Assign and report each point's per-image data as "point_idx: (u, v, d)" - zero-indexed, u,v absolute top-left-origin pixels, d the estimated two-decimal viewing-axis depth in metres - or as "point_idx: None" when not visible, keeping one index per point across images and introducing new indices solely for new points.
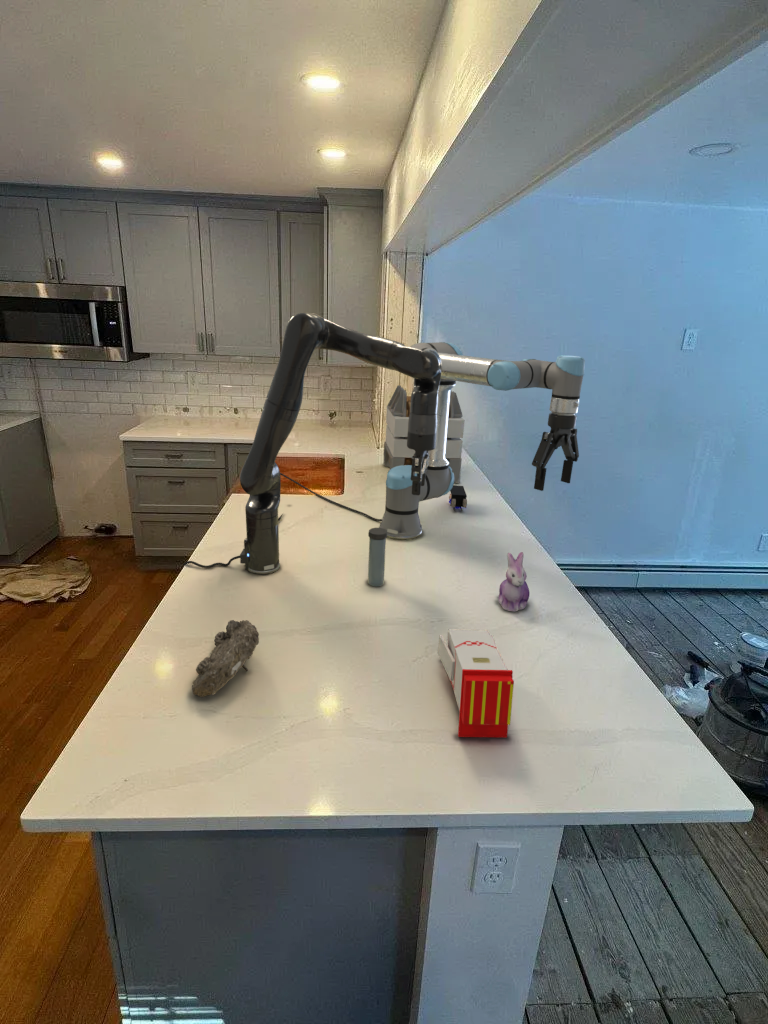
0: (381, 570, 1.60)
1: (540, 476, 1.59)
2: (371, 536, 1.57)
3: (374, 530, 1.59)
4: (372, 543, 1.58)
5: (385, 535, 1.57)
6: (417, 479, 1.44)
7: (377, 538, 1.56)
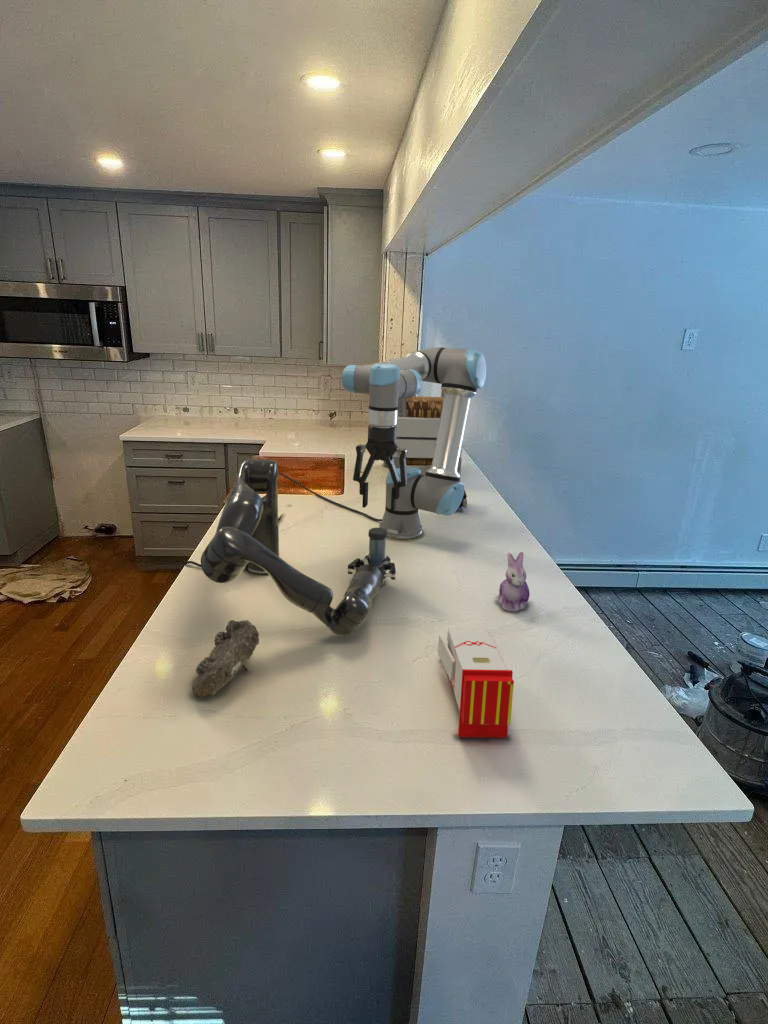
0: None
1: None
2: (371, 536, 1.57)
3: (374, 530, 1.59)
4: (372, 543, 1.58)
5: (385, 535, 1.57)
6: None
7: (377, 538, 1.56)
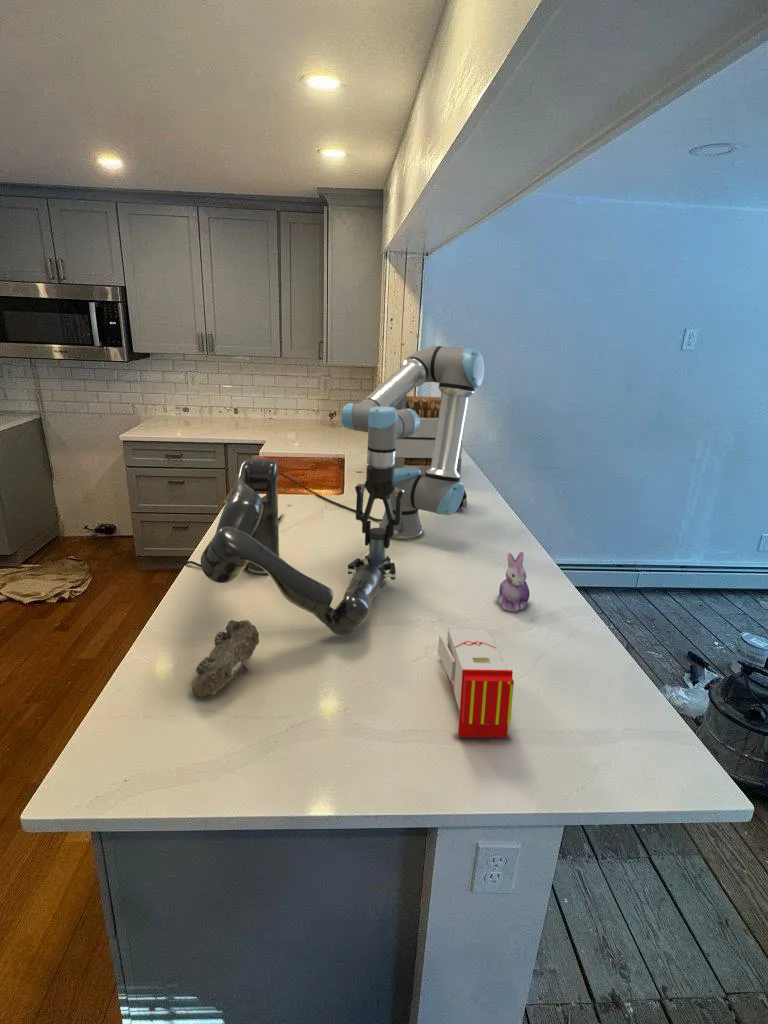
0: None
1: None
2: (371, 536, 1.57)
3: (374, 530, 1.59)
4: (372, 543, 1.58)
5: (385, 535, 1.57)
6: None
7: (377, 538, 1.56)
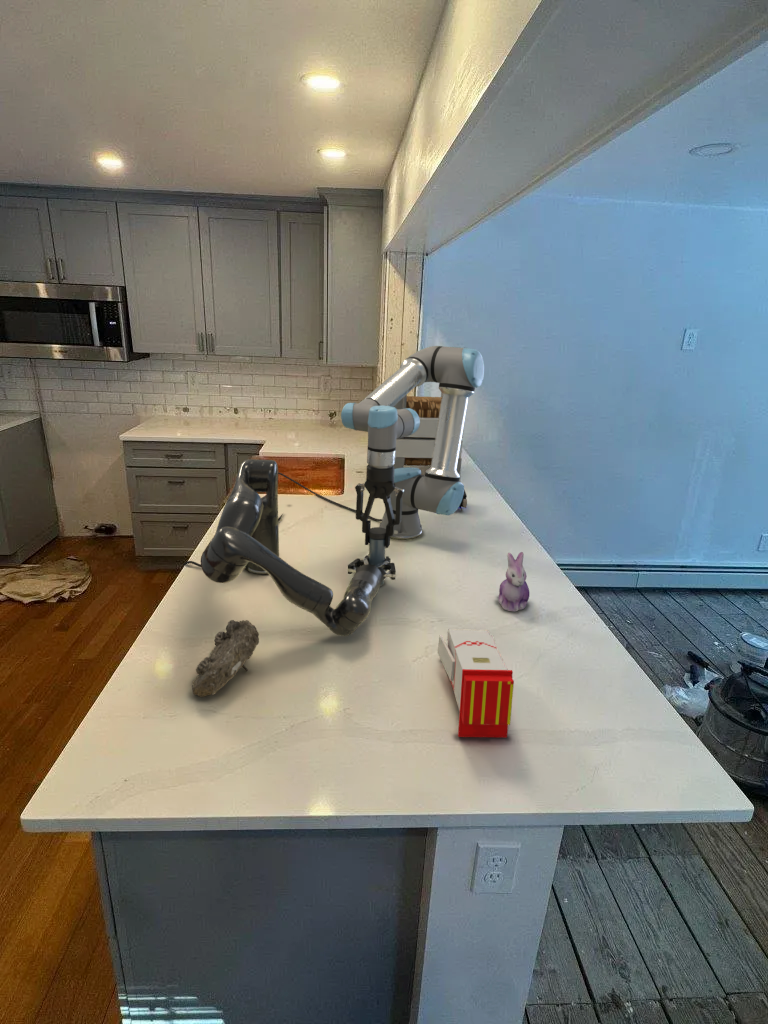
0: None
1: None
2: None
3: (378, 532, 1.57)
4: (372, 543, 1.58)
5: None
6: None
7: None
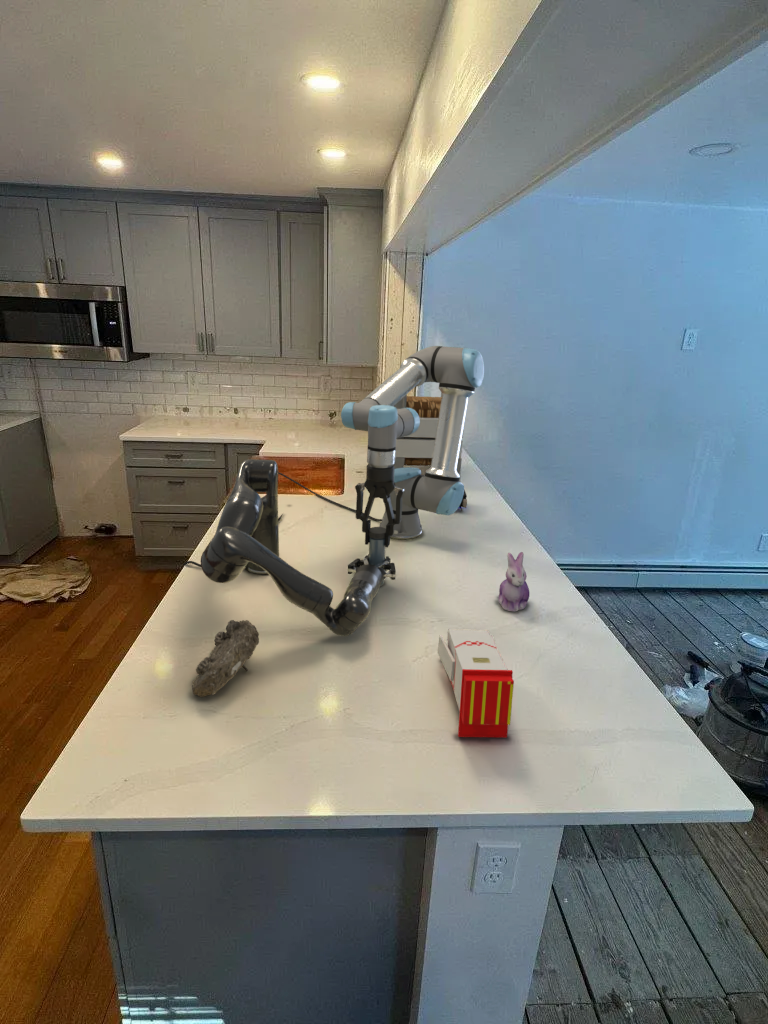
0: None
1: None
2: None
3: (381, 529, 1.59)
4: (372, 543, 1.58)
5: None
6: None
7: None
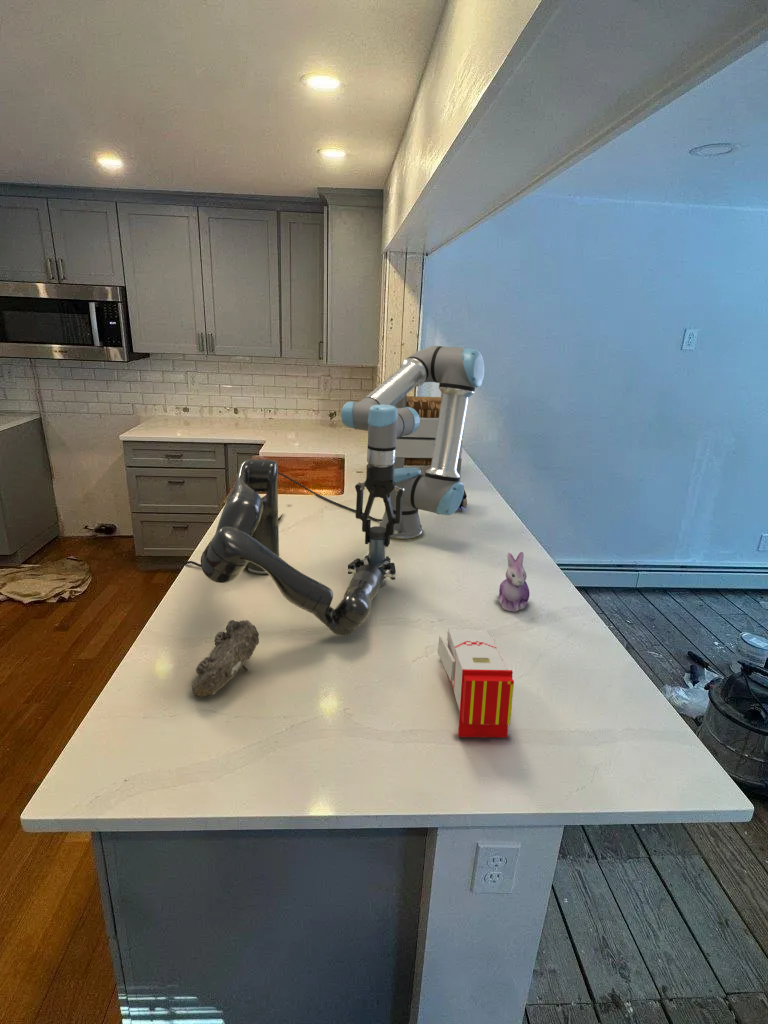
0: None
1: None
2: (369, 533, 1.58)
3: (375, 528, 1.59)
4: (372, 543, 1.58)
5: (382, 535, 1.56)
6: None
7: (373, 536, 1.56)
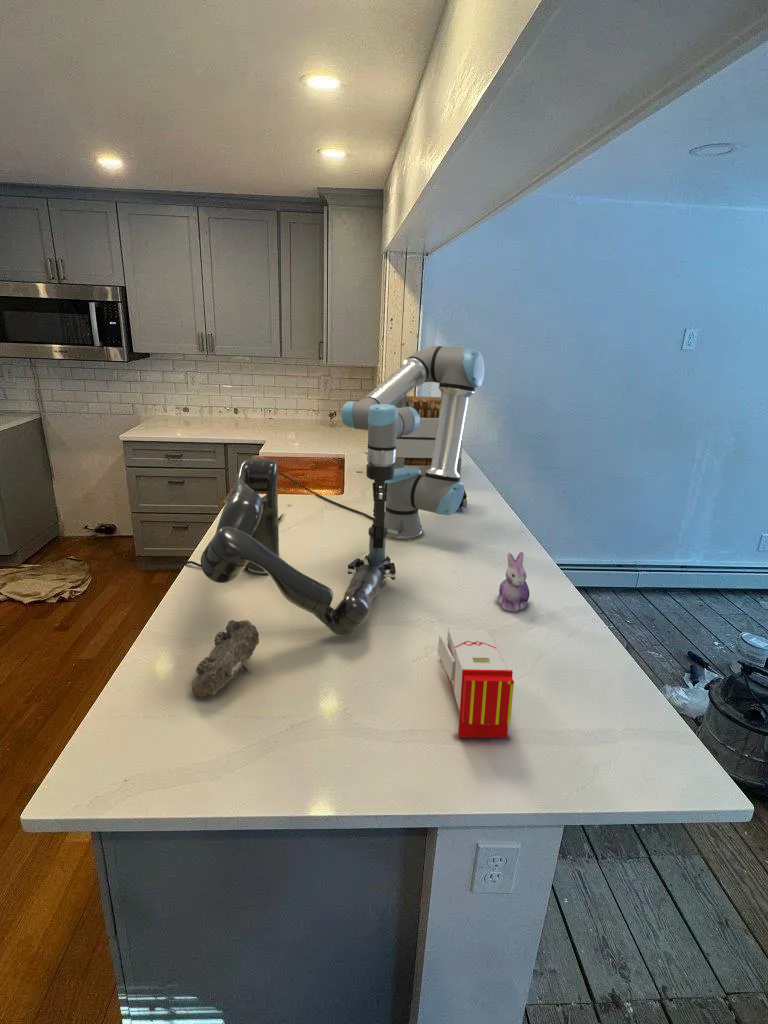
0: None
1: None
2: (383, 535, 1.57)
3: None
4: (372, 543, 1.58)
5: None
6: None
7: (386, 534, 1.58)
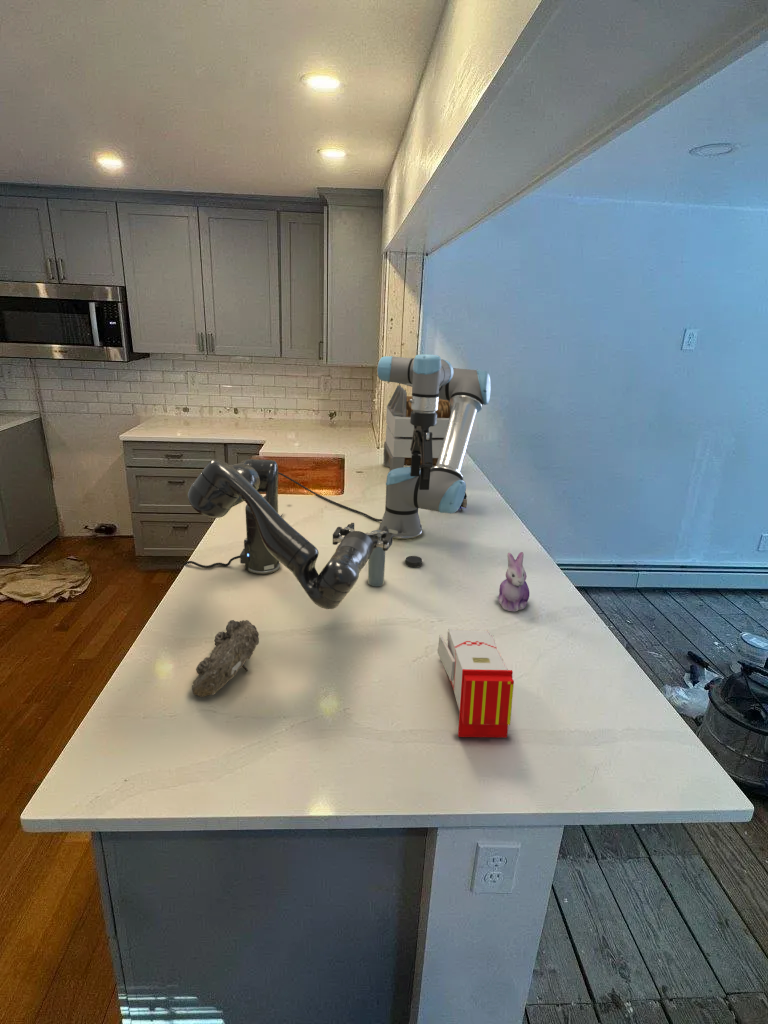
0: (381, 570, 1.60)
1: None
2: (419, 564, 1.75)
3: (412, 560, 1.76)
4: None
5: None
6: (392, 536, 1.39)
7: (421, 563, 1.77)
